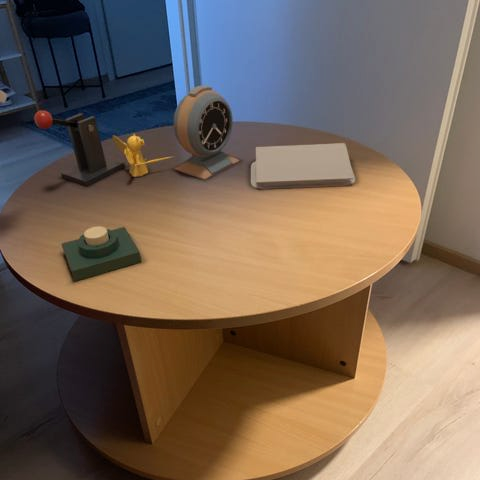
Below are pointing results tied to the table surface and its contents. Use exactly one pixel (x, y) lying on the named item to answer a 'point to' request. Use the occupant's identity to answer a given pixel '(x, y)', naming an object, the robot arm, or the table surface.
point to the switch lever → (52, 121)
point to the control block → (101, 254)
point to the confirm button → (96, 236)
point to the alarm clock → (204, 132)
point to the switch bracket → (89, 153)
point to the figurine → (135, 154)
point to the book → (301, 166)
